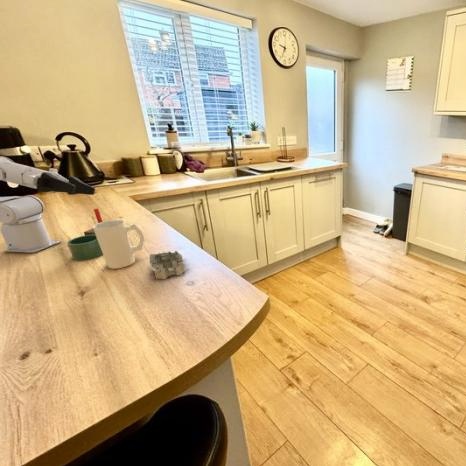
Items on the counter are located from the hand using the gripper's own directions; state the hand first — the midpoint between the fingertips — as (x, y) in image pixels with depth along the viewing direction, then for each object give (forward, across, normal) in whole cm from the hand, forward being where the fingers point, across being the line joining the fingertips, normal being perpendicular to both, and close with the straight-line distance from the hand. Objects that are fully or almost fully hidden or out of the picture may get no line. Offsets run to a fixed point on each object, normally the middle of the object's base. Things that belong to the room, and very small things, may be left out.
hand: (84, 190), depth 85 cm
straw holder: (0, +14, +15) cm, 21 cm away
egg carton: (+32, -12, +15) cm, 37 cm away
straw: (0, +14, +15) cm, 21 cm away
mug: (+19, -6, +16) cm, 26 cm away
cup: (+5, 0, +18) cm, 19 cm away
